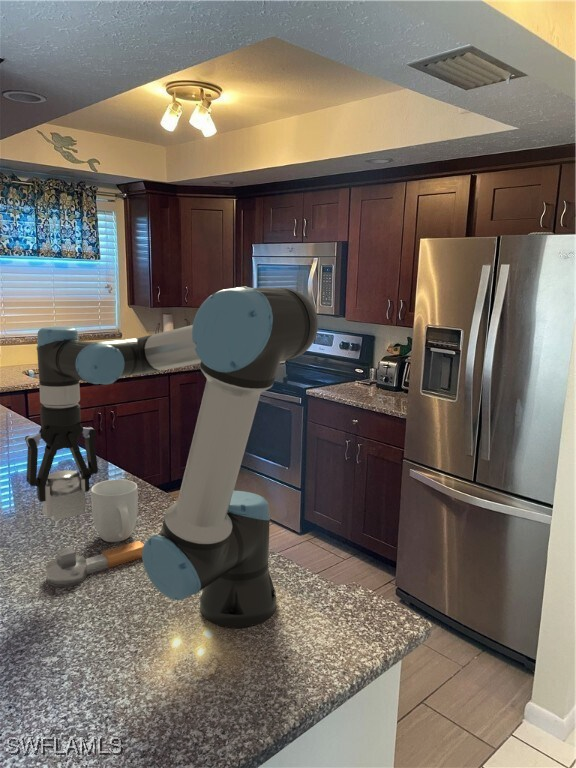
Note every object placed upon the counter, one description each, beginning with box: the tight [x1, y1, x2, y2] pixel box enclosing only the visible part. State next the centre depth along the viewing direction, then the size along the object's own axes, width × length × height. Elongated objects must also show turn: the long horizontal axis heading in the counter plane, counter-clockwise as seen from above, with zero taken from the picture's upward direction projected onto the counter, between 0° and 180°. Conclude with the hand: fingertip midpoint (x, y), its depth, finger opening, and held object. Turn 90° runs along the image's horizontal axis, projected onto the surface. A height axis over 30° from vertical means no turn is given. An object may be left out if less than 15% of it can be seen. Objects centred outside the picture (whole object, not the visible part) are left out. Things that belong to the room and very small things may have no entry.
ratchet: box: [45, 540, 145, 588], centre depth 124 cm, size 8×22×6 cm, turn 130°
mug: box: [90, 478, 139, 543], centre depth 137 cm, size 15×11×13 cm
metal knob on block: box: [46, 469, 87, 522], centre depth 117 cm, size 6×6×8 cm
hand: (64, 510), depth 117 cm, fingers closed on metal knob on block, 6 cm apart
